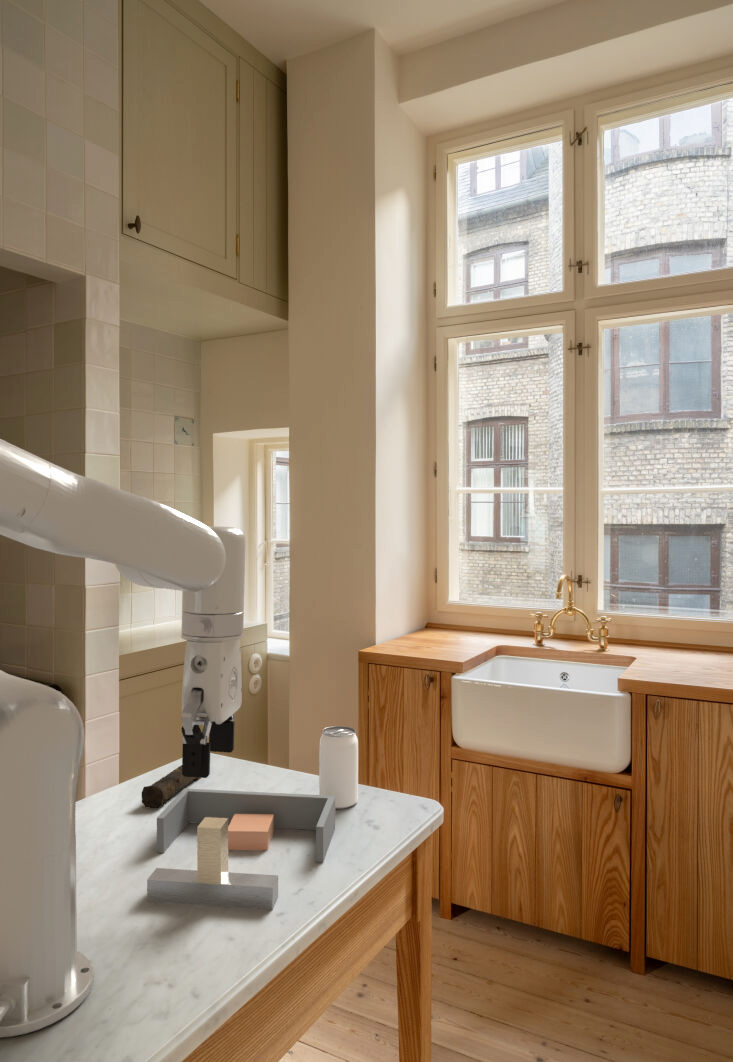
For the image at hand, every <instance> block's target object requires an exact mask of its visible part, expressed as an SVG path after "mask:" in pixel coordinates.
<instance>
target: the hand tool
mask: <svg viewBox="0 0 733 1062" xmlns="http://www.w3.org/2000/svg"><path fill="white" fill-rule="evenodd" d="M201 779H202V778H198V777H185V776H183V775H182V764H181V765H180V766H178V767H176V768H175V769H174V770H172V771H171V772H168V774H166V775H164V776H162V777H161V778H159V780H157V781H155V782H153V783H152V784H151V785H148V786H144V787H143V788H142V791H141V803H142V804H143V807H144V808H147V809H148V808H149V809H155V810H157V809H161V808H162V807H163V805H166V803H167V800H169V799H170V798H172V797H173V796H174V795H175V794H176V793H178V792H179V791H180V792H181V791H182V790H183V789H184V788H185V787H186V786H187V785H189V784H190V783H192V782H196V781H199V780H201Z"/></svg>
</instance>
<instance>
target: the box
mask: <svg viewBox="0 0 733 1062" xmlns="http://www.w3.org/2000/svg"><path fill="white" fill-rule="evenodd" d="M234 814H274V827H277V828H278V829H293V830H295V829H296V830H310V831H311V830H313V831H315V862H316V863H324V862H325V859H326V856H327V853H328V850H329V847H330V844H331V841H332V838H333V836H334V833H335V830H336V809H335V796H326V795H319V794H304V793H303V794H302V793H285V792H284V793H281V792H280V793H279V792H267V791H265V792H264V791H263V792H262V791H244V790H243V791H242V790H225V789H224V790H222V789H204V788H203V789H201V788H185V787H183V788H182V790H180V792H179V794H178V795H176V796H175V798H174V799H173V800H172V801H170V803H169V804H168V805H167V806H166V807H165V808H164V810H163V811H162V812H160V814H159V815H158V816H157V817H156V853H158V852H160V853H161V854H164V853H165V852H167V849H168V848H169V847H170V846H171V845H172V844H173V842H174V841H175V840H176V839H177V837H178V836H179V835H180V834H181V832H182V831H183V830H184V829H185V828H186V826H188V824H198V825H199V824H200V823H201V822H202V821H203V819H204V818H205V817H213V818H228V826H229V824H230V822H231V820H232V818H233V816H234ZM277 828H276V829H277ZM160 853H158V854H160Z"/></svg>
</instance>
